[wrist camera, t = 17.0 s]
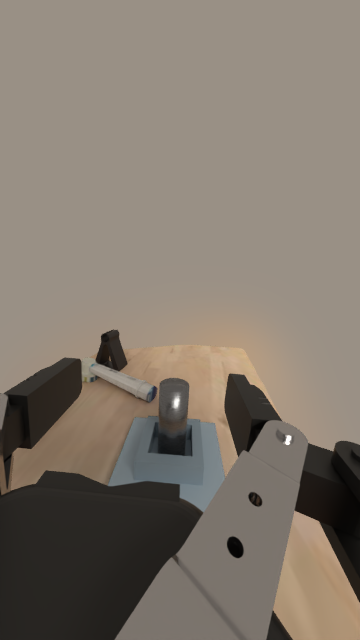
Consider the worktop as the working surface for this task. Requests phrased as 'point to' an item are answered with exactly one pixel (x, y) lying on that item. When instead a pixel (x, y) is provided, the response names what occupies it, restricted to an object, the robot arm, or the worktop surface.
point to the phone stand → (111, 351)
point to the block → (173, 460)
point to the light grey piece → (117, 379)
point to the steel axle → (173, 416)
